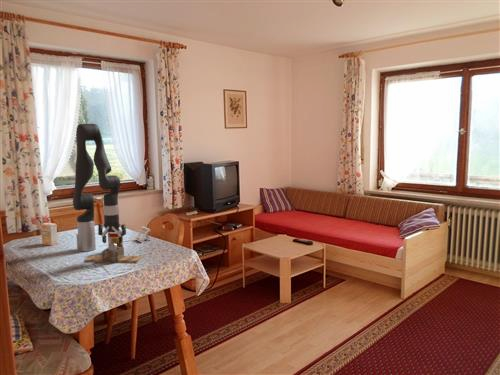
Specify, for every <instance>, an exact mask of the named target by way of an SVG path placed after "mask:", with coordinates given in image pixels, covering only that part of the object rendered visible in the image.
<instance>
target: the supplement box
mask: <svg viewBox="0 0 500 375" xmlns="http://www.w3.org/2000/svg"><path fill="white" fill-rule="evenodd" d="M57 224H58V223H53V222H44V223H41V224H40V226H41V228H40V229H41V244H42V245H45V246H50V247H51V246H54V245H58V244H59V243H58V226H57Z"/></svg>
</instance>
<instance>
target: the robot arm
mask: <svg viewBox="0 0 500 375" xmlns="http://www.w3.org/2000/svg"><path fill="white" fill-rule="evenodd" d="M75 135H76V159H75V176H74V177H75V178H74V179H75V180H74V190H73V197H72V207H73V209H74V210H75V211H82V210H85V211H84V212H83V213H82V214H79V215H78V216H77V217H76V221H77V223H76V224H77V234H76V248H77V251H79V252H90V251H91V252H92V251H94V250H96V248H97V246H96V245H97V244H96V229H95V197H94V195H93V194H92V193H91V192H90V193H89V192H88V193H86V192H85V193H83V191H84V189H85V187H86V185H87V184H88V183H89V182H90V180H91V179H92V177H93V174H94V167H95V169H96V171H97V176H98V185H99V187H100V189H102V190H104V191H105V190H106V191H107V190H110V191H109V192H108V193H105V194H104V195H103V222H104V223H99V224H98V228H97V229H98V230H97V231H98V232H97V234H98V236H100V237H102V238H101V239H102V240H101V242H102V243H103V244H106V243H107V235H108V232H116V234H118V235H119V244H121V243H122V242H124V238H123V237H124V236H126V235H127V228H126V224H125V223H123V224H120V214H119V213H120V210H119V202H118V200H119V199H118V197H119V192H120V188H121V179H120V177H119V176H118V175H107V174H110V173H111V172H112V166H111V163H110V162H109V159H108V157H107V154H106V150H105V145H104V140H103V137H102V133H101V130H100V127H99V125H98V124H96V123H79V124H78V125H77V127H76V134H75ZM90 141H91V142H92V141H94V143H95V151H94V154H93V159H92V157H91V156H90V154H89V152H88V150H87V147H86V146H87V145H86V144H87V142H90ZM103 229H105V230H104V231H103ZM121 231H122V232H121Z"/></svg>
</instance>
